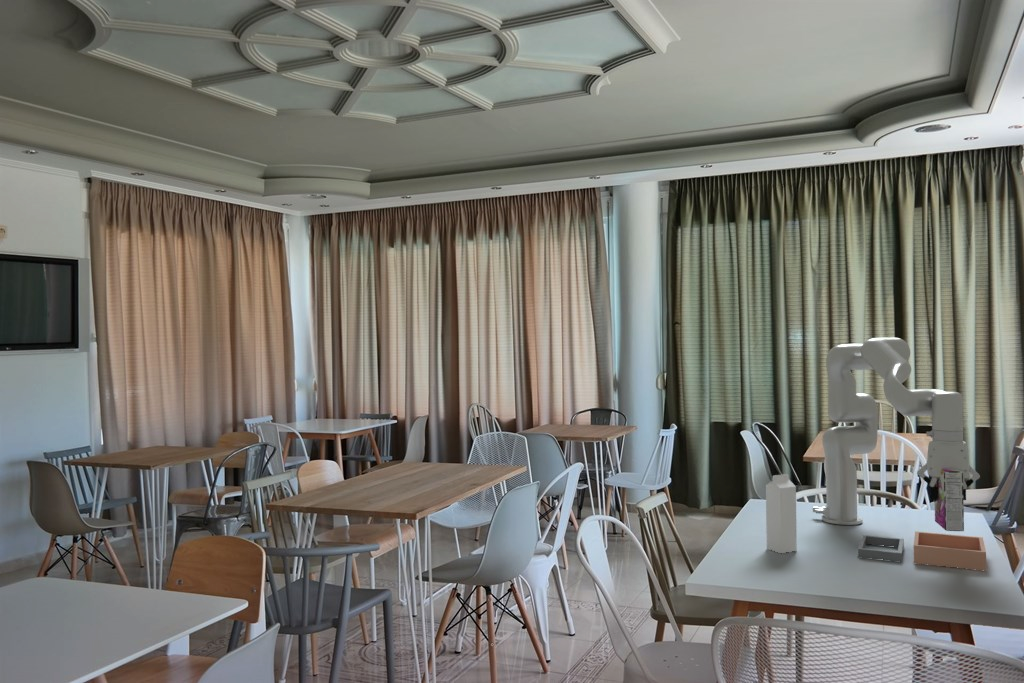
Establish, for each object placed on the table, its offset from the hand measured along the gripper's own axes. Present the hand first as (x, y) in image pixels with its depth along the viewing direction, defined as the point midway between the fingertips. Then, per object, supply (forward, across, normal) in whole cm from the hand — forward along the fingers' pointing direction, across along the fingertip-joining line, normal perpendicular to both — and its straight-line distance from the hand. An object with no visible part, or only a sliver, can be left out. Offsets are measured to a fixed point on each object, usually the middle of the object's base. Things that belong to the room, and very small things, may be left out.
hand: (948, 501), depth 223 cm
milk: (+16, -43, -9) cm, 47 cm away
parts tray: (+16, -17, 0) cm, 23 cm away
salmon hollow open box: (+16, 0, 0) cm, 16 cm away
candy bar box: (+7, 0, 0) cm, 7 cm away
